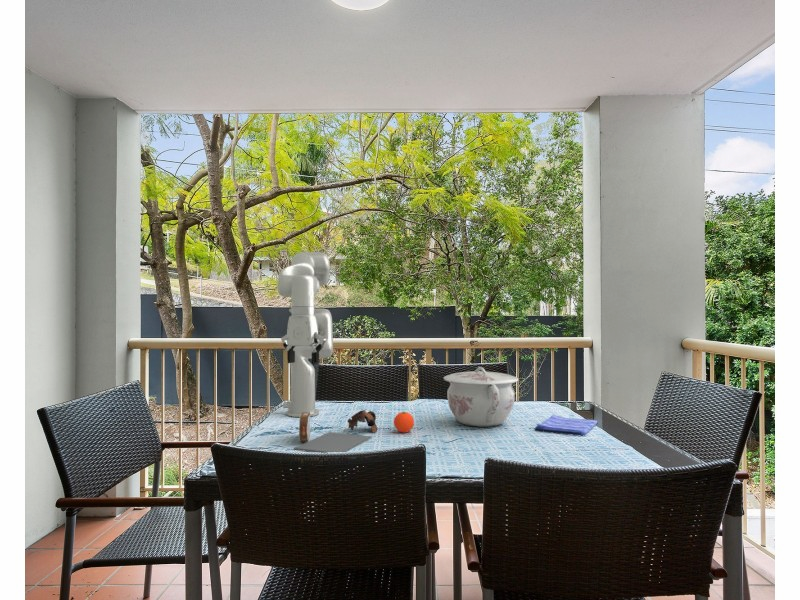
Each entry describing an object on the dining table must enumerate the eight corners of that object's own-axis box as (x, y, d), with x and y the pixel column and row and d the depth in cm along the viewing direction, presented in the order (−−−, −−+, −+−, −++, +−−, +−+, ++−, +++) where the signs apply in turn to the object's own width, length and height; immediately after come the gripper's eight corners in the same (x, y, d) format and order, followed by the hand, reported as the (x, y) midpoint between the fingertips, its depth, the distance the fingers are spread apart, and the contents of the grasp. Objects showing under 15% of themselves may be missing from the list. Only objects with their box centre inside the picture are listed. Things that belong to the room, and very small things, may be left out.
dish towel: (533, 432, 202) (533, 424, 202) (551, 419, 223) (551, 412, 223) (584, 438, 194) (584, 429, 194) (598, 424, 214) (598, 416, 214)
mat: (293, 449, 178) (293, 447, 178) (329, 433, 199) (329, 432, 199) (340, 454, 172) (340, 453, 172) (372, 437, 193) (372, 436, 193)
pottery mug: (372, 436, 196) (360, 416, 196) (352, 445, 201) (339, 425, 200) (387, 420, 207) (375, 401, 207) (367, 429, 211) (356, 410, 211)
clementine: (394, 429, 205) (394, 408, 205) (414, 429, 205) (414, 409, 205) (393, 434, 197) (393, 413, 197) (413, 434, 197) (413, 413, 197)
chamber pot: (461, 412, 233) (461, 361, 233) (528, 420, 220) (528, 365, 219) (429, 426, 209) (429, 368, 209) (502, 435, 195) (502, 374, 195)
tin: (302, 435, 197) (301, 410, 197) (312, 434, 197) (310, 409, 197) (299, 445, 182) (297, 417, 182) (309, 444, 182) (307, 417, 182)
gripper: (275, 312, 195) (275, 363, 195) (318, 312, 187) (318, 365, 187) (288, 311, 201) (289, 361, 201) (331, 312, 194) (331, 363, 194)
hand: (303, 363), depth 194 cm, fingers open, 9 cm apart
